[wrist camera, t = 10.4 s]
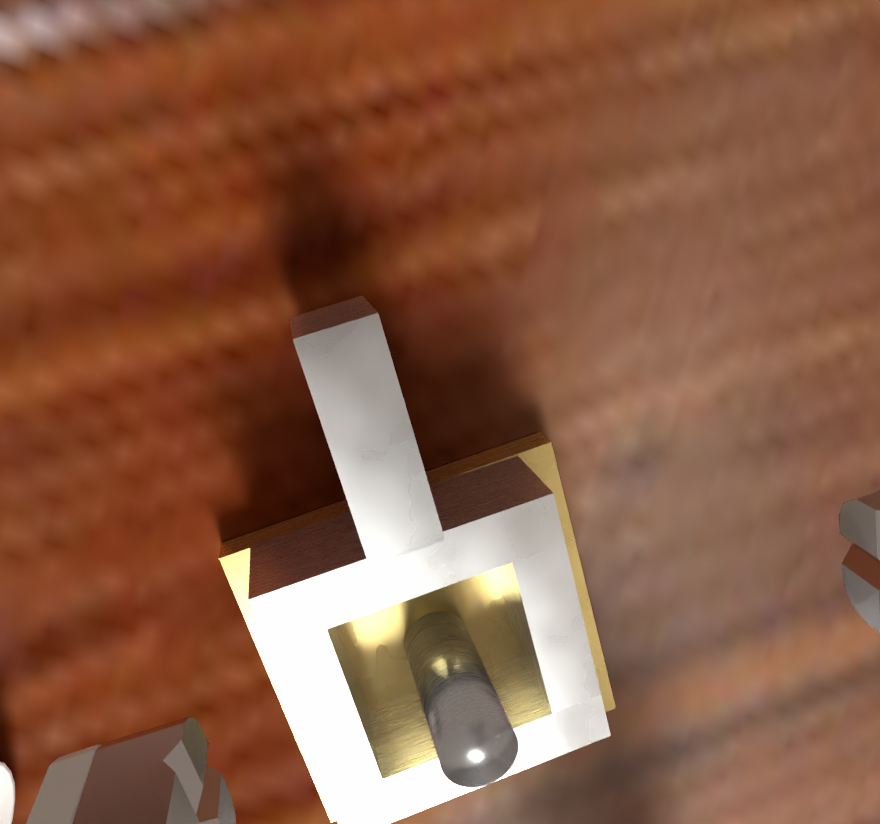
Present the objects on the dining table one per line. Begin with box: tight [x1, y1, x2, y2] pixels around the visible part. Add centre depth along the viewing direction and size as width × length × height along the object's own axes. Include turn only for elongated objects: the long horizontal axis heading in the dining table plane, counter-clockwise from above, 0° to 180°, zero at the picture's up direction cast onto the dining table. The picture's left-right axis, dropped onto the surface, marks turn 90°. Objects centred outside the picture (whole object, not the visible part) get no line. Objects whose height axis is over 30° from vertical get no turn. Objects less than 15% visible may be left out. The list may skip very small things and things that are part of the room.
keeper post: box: [219, 432, 616, 823], centre depth 22 cm, size 10×10×6 cm
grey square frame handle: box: [248, 296, 611, 824], centre depth 21 cm, size 14×8×3 cm, turn 15°
